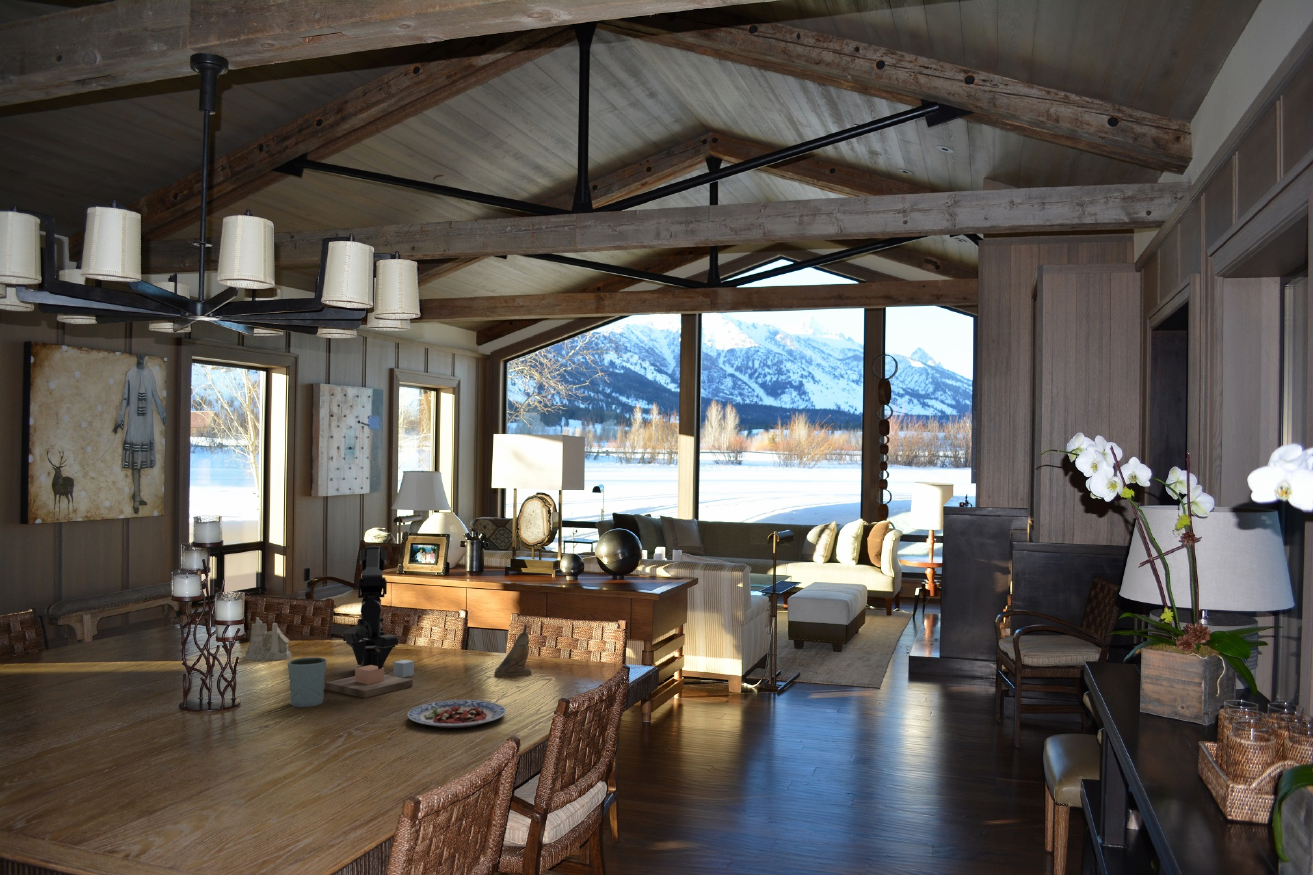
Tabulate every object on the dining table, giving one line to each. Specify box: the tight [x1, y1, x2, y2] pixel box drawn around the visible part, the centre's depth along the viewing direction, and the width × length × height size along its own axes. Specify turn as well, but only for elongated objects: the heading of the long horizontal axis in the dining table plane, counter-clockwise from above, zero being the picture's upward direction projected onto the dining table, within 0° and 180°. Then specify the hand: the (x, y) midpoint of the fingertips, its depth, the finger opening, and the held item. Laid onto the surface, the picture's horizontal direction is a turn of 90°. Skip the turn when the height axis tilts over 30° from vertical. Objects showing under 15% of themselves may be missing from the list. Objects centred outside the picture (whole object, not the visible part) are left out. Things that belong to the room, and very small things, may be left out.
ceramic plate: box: [407, 699, 507, 729], centre depth 247 cm, size 26×26×3 cm
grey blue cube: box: [392, 659, 415, 678], centre depth 299 cm, size 4×4×4 cm
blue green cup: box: [287, 656, 327, 708], centre depth 262 cm, size 10×10×12 cm
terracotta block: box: [354, 665, 385, 684], centre depth 281 cm, size 6×6×4 cm
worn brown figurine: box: [494, 623, 532, 678], centre depth 302 cm, size 12×6×18 cm, turn 106°
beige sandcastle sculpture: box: [244, 616, 292, 662], centre depth 327 cm, size 16×16×15 cm
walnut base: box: [324, 673, 414, 699], centre depth 281 cm, size 18×18×2 cm
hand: (369, 666), depth 281 cm, fingers open, 9 cm apart
